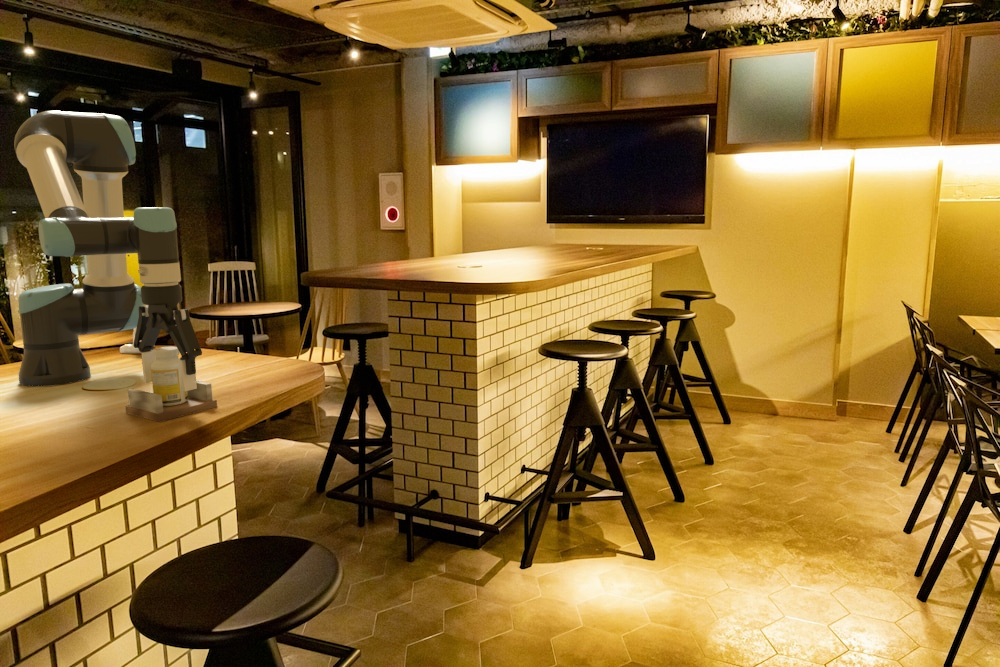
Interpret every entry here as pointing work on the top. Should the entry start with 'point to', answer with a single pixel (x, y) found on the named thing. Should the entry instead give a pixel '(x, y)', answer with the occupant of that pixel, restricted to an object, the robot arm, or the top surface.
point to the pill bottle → (168, 376)
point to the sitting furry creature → (130, 346)
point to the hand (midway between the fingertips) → (170, 385)
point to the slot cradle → (154, 410)
